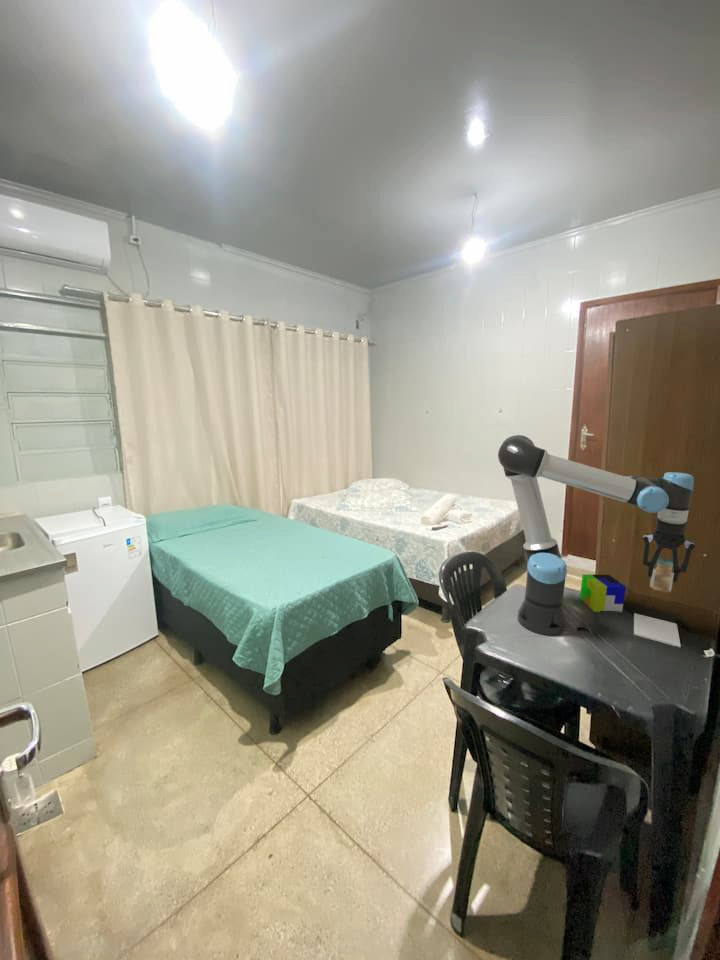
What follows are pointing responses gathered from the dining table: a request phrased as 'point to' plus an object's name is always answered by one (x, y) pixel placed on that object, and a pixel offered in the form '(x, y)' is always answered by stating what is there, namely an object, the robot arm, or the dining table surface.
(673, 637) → the mat
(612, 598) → the puzzle toy
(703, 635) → the dining table surface
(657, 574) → the block
